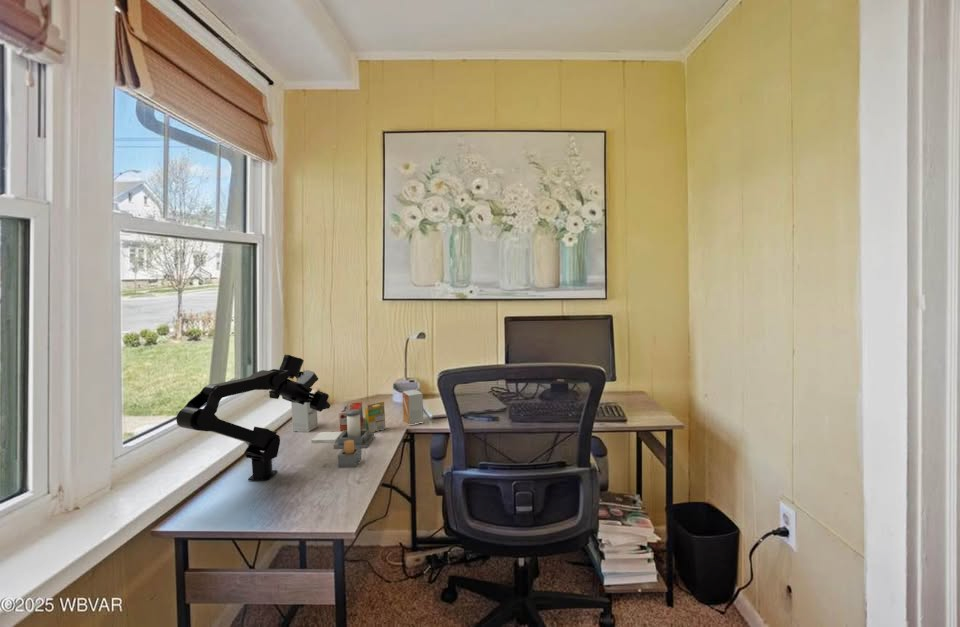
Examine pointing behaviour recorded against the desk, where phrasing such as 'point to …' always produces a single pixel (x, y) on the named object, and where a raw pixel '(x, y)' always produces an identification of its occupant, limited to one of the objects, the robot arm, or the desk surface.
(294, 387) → the robot arm
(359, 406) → the medicine box
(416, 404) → the small box
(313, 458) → the desk surface
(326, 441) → the pad
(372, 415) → the crayon box
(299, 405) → the supplement box
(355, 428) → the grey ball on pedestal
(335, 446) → the frame
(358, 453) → the block
